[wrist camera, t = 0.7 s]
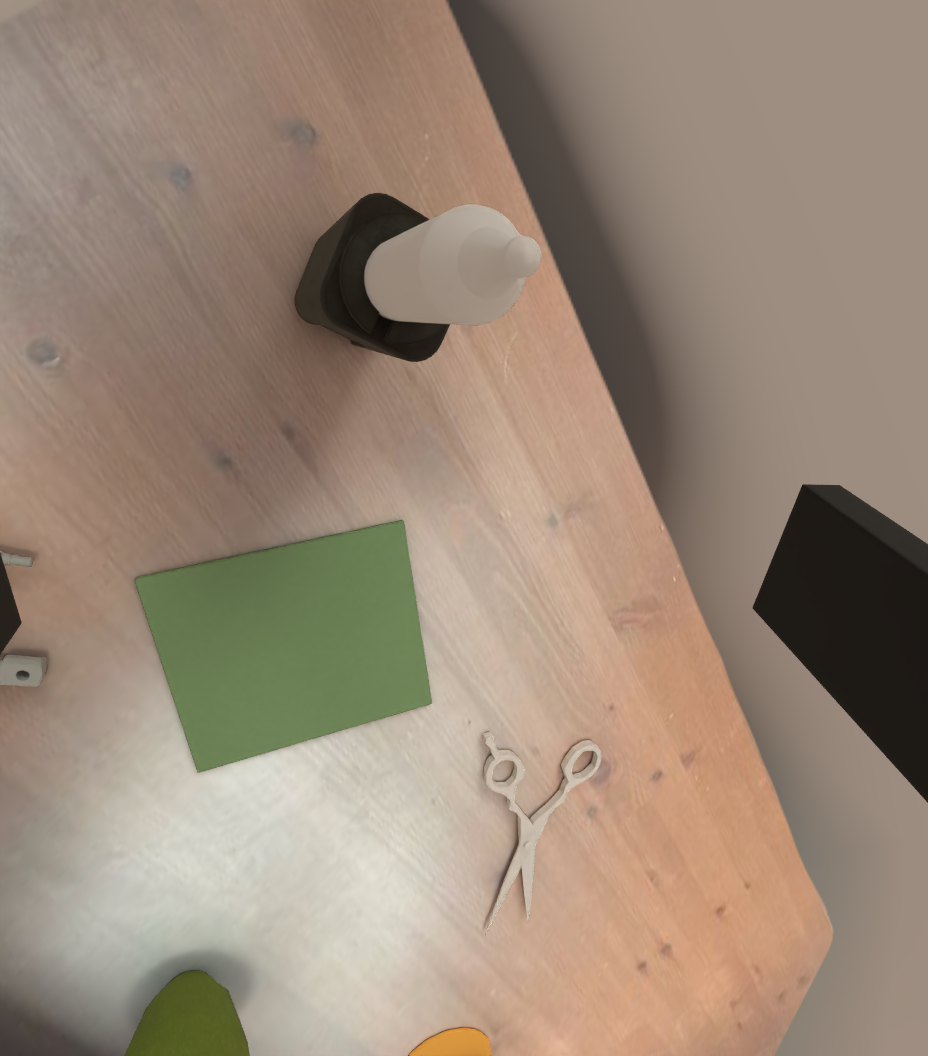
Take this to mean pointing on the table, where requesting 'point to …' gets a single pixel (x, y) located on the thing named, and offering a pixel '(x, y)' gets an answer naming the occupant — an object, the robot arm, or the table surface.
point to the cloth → (289, 642)
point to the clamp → (14, 665)
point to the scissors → (533, 827)
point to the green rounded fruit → (190, 1021)
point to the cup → (455, 1044)
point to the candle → (413, 274)
